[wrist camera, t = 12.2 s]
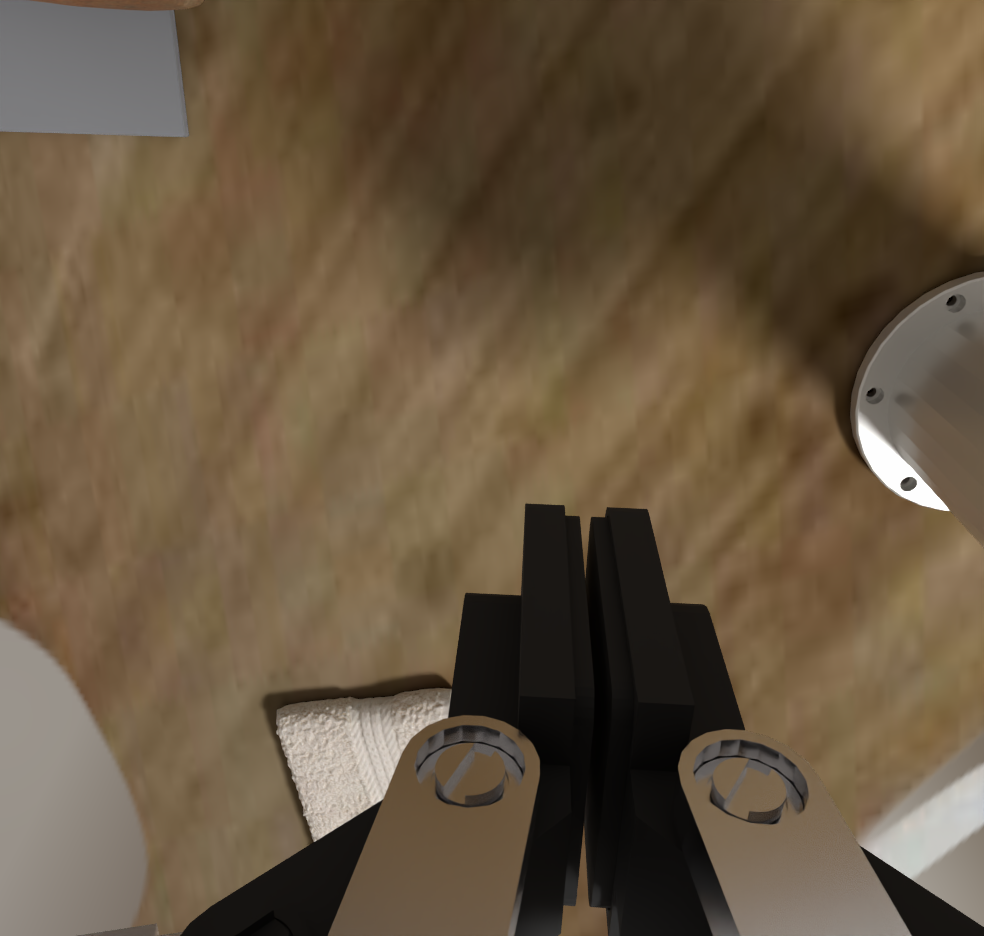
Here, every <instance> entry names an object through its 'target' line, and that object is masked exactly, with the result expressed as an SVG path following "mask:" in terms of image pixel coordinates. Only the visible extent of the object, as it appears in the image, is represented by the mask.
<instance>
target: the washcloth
mask: <svg viewBox="0 0 984 936" xmlns="http://www.w3.org/2000/svg"><path fill="white" fill-rule="evenodd" d="M451 691H452V689H445V688H435V689H432V688H431V689H420V690H417V691H411V692H402V693H399V694H397V695H394V696H388V697H376V698H365V699H355V698H353V697H348V698H339V699H327V700H319V701H310V702H301V703H296V704H289V705H287V706H284V707H283V708H280V709H277V719H276V725H277V726H278V729H277V731H276V732H277V735H279V737H280V739H281V745H282V749H283V750H284V753H285V756H286V757H287V758H288V759H287V762H288V767H290V769H291V771H292V773H291V774H292V779H293V781H294V782H295V784H296V788H297V790H298V793H299V799H300V800H301V803H302V805H303V816H305V817H306V820H307V822H308V825H309V826H310V831H311V833H312V839H313V841H314V842H315V841H317V840H318V839H320V838H322V837H323V836H325V835H326V834H328V833H330V832H331V831H333V830H335V829H336V828H338V827H339V826H341V825H343V824H344V823H346V822H347V821H349V820H351V819H352V818H354V817H355V816H357V815H359V814H360V813H362V812H363V811H365V810H367V809H368V808H370V807H371V806H373V805H375V804H376V803H378V802H379V801H381V800H383V799H384V796H385V794H386V791H387V789H388V786H389V784H390V781H391V779H392V776H393V774H394V771H395V769H396V767H397V764H398V762H399V759H400V757H401V754H402V752H403V750H404V749H405V747H406V746H407V744H408V743H409V741H410V740H411V738H412V737H413V736H415V735H416V734H417V733H418V732H420V731H421V730H422V729H423V728H425V727H426V726H428V725H430V724H433V723H435V722H437V721H440V720H442V719H445V718H448V713H449V706H450V699H451Z"/></svg>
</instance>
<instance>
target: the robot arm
mask: <svg viewBox="0 0 984 936" xmlns="http://www.w3.org/2000/svg"><path fill="white" fill-rule="evenodd" d="M951 296H953V299H952V301H951V302H949V303H947V301H948V299H949V298H950V297H951ZM946 303H947V304H946ZM872 388H873V391H872V392H871V393H869V394H867V392H868V391H869V390H870V389H872ZM850 419H851V426H852V432H853V437H854V440H855V442H856V445H857V447H858V450H859V452H860V455H861V457H862V458H863V459H864V461H865V462H866V464H867V465H868V467H869V468H870V469H871V471H872V472H873V473H874V474H875V475H876V476H877V478H878V479H879V480H880V481H881V482H882V483H883V484H884V485H885V486H886V487H887V488H889V489H890V490H891V491H893V492H894V493H895V494H897V495H898V496H900V497H902V498H904V499H906V500H909V501H911V502H913V503H916V504H918V505H920V506H924V507H928V508H933V509H937V510H942V511H950V512H951V513H952V514H953V515H954V516H955V517H956V518H957V519H958V520H959V522H960V523H961V524H962V525H963V526H964V527H965V528H966V529H967V530H968V531H969V533H970V534H971V535H972V536H973V537H974V538H975V539H976V540H977V541H978V543H979V544H980V545H981V546H982V547H983V548H984V272H977V273H973V274H970V275H967V276H964V277H961V278H958V279H955V280H952V281H949V282H947V283H945V284H943V285H941V286H939V287H937V288H935V289H933V290H931V291H929V292H927V293H925V294H924V295H922V296H921V297H920V298H918V299H917V300H915V301H914V302H913V303H911V304H910V305H909V306H907V307H906V308H904V309H903V310H902V311H901V312H900V313H899V314H898V315H897V316H896V317H895V318H894V319H893V320H892V321H891V322H890V323H889V324H888V325H887V326H886V327H885V328H884V329H883V330H882V332H881V333H880V334H879V336H878V337H877V338H876V340H875V341H874V343H873V344H872V345H871V347H870V348H869V350H868V351H867V354H866V356H865V358H864V360H863V362H862V364H861V366H860V368H859V370H858V372H857V376H856V380H855V383H854V387H853V391H852V394H851V409H850ZM905 477H906V478H905ZM904 478H905V479H904ZM583 826H584V829H585V846H586V863H587V880H588V896H589V905H590V907H600V908H606V914H607V926H608V936H984V927H983V926H981V925H979V924H978V923H976V922H975V921H973V920H972V919H970V918H969V917H967V916H966V915H964V914H963V913H961V912H960V911H958V910H957V909H955V908H954V907H952V906H951V905H949V904H948V903H946V902H945V901H943V900H942V899H940V898H939V897H937V896H935V895H934V894H932V893H931V892H929V891H928V890H926V889H925V888H923V887H922V886H920V885H919V884H917V883H916V882H914V881H913V880H911V879H910V878H908V877H907V876H905V875H904V874H902V873H901V872H899V871H897V870H896V869H894V868H893V867H891V866H890V865H888V864H887V863H885V862H884V861H882V860H881V859H879V858H878V857H876V856H875V855H873V854H872V853H870V852H869V851H867V850H866V849H864V848H862V847H861V846H859V844H858V842H857V841H856V839H855V837H854V836H853V834H852V832H851V830H850V829H849V827H848V825H847V824H846V822H845V820H844V818H843V817H842V815H841V813H840V812H839V810H838V808H837V806H836V805H835V803H834V801H833V800H832V798H831V796H830V794H829V793H828V791H827V789H826V788H825V786H824V784H823V782H822V781H821V779H820V777H819V776H818V774H817V773H816V772H815V770H814V769H813V768H812V767H811V765H810V764H809V763H808V762H807V760H806V759H804V758H803V757H802V756H801V755H799V754H798V753H797V752H795V751H794V750H793V749H792V748H790V747H789V746H787V745H785V744H783V743H781V742H779V741H777V740H775V739H773V738H771V737H769V736H766V735H762V734H758V733H754V732H751V731H747V730H745V728H744V724H743V721H742V718H741V715H740V711H739V708H738V705H737V702H736V698H735V695H734V692H733V688H732V685H731V682H730V679H729V675H728V672H727V669H726V665H725V662H724V659H723V656H722V652H721V649H720V646H719V642H718V639H717V636H716V633H715V629H714V626H713V623H712V620H711V616H710V613H709V611H708V609H707V607H706V606H705V605H703V604H682V603H670V600H669V596H668V592H667V588H666V583H665V579H664V575H663V571H662V567H661V562H660V558H659V554H658V550H657V546H656V541H655V537H654V533H653V529H652V525H651V521H650V516H649V512H648V510H647V509H632V508H610V507H607V510H606V514H605V517H591V522H590V531H589V543H588V555H587V567H586V578H585V572H584V561H583V549H582V538H581V526H580V517H579V516H565V507H564V505H544V504H525V523H524V544H523V565H522V586H521V596H519V595H499V594H479V593H466V594H465V598H464V605H463V612H462V619H461V626H460V634H459V641H458V648H457V655H456V663H455V670H454V677H453V684H452V691H451V699H450V706H449V713H448V718H445V719H442V720H440V721H437V722H435V723H433V724H430V725H428V726H426V727H425V728H423V729H422V730H421V731H420V732H418V733H417V734H416V735H415V736H413V737H412V738H411V740H410V741H409V743H408V744H407V746H406V747H405V749H404V750H403V752H402V754H401V757H400V759H399V762H398V764H397V767H396V769H395V771H394V774H393V776H392V779H391V781H390V784H389V786H388V789H387V791H386V794H385V796H384V799H383V800H381V801H379V802H378V803H376V804H375V805H373V806H371V807H370V808H368V809H367V810H365V811H363V812H362V813H360V814H359V815H357V816H355V817H354V818H352V819H351V820H349V821H347V822H346V823H344V824H343V825H341V826H339V827H338V828H336V829H335V830H333V831H331V832H330V833H328V834H326V835H325V836H323V837H322V838H320V839H318V840H317V841H315V842H314V843H312V844H310V845H309V846H307V847H306V848H304V849H302V850H301V851H299V852H298V853H296V854H294V855H293V856H291V857H290V858H288V859H286V860H285V861H283V862H282V863H280V864H278V865H277V866H275V867H273V868H272V869H270V870H269V871H267V872H265V873H264V874H262V875H261V876H259V877H257V878H256V879H254V880H253V881H251V882H249V883H248V884H246V885H245V886H243V887H241V888H240V889H238V890H237V891H235V892H233V893H232V894H230V895H229V896H227V897H225V898H224V899H222V900H221V901H219V902H217V903H216V904H214V905H212V906H211V907H210V908H208V909H207V910H206V911H205V912H203V913H202V914H201V915H200V916H198V917H197V918H196V919H195V920H193V921H192V922H191V923H190V924H189V925H188V926H187V928H186V929H185V930H184V931H183V932H179V933H173V934H166V935H160V936H558V935H559V934H561V925H562V914H563V905H568V906H575V904H576V897H577V887H578V877H579V867H580V857H581V847H582V836H583ZM79 936H159V932H158V927H157V924H151V925H145V926H138V927H131V928H125V929H119V930H112V931H105V932H99V933H92V934H85V935H79Z"/></svg>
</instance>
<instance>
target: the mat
mask: <svg viewBox="0 0 984 936" xmlns="http://www.w3.org/2000/svg"><path fill="white" fill-rule="evenodd" d="M0 131H8V132H40V133H72V134H104V135H136V136H168V137H187V136H189V132H188V124H187V115H186V107H185V99H184V90H183V82H182V73H181V65H180V57H179V48H178V40H177V32H176V23H175V15H174V10H164V11H140V10H120V9H104V8H91V7H78V6H69V5H61V4H53V3H46V2H38V1H30V0H0Z"/></svg>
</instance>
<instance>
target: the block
mask: <svg viewBox="0 0 984 936" xmlns="http://www.w3.org/2000/svg"><path fill="white" fill-rule="evenodd" d="M30 1H38V2H46V3H53V4H61V5H69V6H78V7H91V8H104V9H120V10H140V11H164V10H181V9H189V8H193V7H196V6H199V5H200V4H201V3H202V2H203V1H204V0H30Z"/></svg>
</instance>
